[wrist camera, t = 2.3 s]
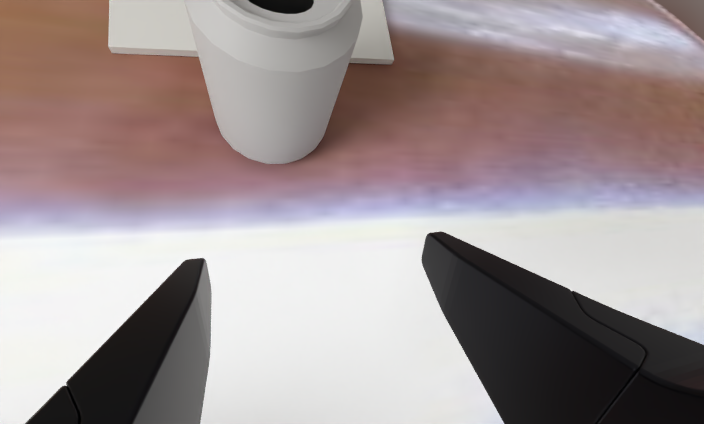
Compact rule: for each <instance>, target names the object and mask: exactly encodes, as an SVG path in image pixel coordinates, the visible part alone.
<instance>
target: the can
mask: <svg viewBox="0 0 704 424" xmlns="http://www.w3.org/2000/svg"><path fill="white" fill-rule="evenodd" d="M184 3H185V7H186V10H187V14H188V18H189V22H190V25H191V29H192V33H193V37H194V40H195V44H196V48H197V52H198V55H199V59H200V63H201V67H202V70H203V74H204V78H205V82H206V85H207V89H208V93H209V97H210V100H211V104H212V108H213V112H214V115H215V119H216V122H217V124H218V127H219V130H220V132H221V135H222V136H223V137H224V139H225V140H226V141H227V142H228V143H229V144H230V146H231V147H232V148H233V149H234V150H236V151H237V152H239V153H241V154H242V155H244V156H245V157H247V158H249V159H252V160H255V161H259V162H262V163H266V164H286V163H289V162H292V161H296V160H299V159H302V158H303V157H305V156H306V155H307V154H309V153H310V152H312V151H313V150H314V149H315V148H316V147H317V145H318V144H319V143H320V141H321V140H322V138H323V137H324V134H325V131H326V128H327V125H328V122H329V119H330V116H331V114H332V111H333V108H334V105H335V102H336V99H337V96H338V93H339V90H340V88H341V85H342V82H343V79H344V76H345V73H346V70H347V67H348V64H349V61H350V59H351V56H352V53H353V50H354V47H355V44H356V41H357V38H358V35H359V31H360V27H361V23H362V18H363V14H362V7H361V0H184Z"/></svg>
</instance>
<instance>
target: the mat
mask: <svg viewBox="0 0 704 424" xmlns="http://www.w3.org/2000/svg"><path fill="white" fill-rule="evenodd" d="M361 7H362V14H363V18H362V23H361V27H360V31H359V35H358V38H357V41H356V44H355V47H354V50H353V53H352V56H351V59H350V61H349V63H365V64H390V65H392V63H393V61H394V56H393V51H392V46H391V41H390V36H389V31H388V26H387V21H386V16H385V11H384V6H383V1H382V0H361ZM108 47H109V49H110V50H111V52H112V53H119V54H144V55H168V56H193V57H199V55H198V52H197V48H196V44H195V40H194V37H193V33H192V29H191V25H190V22H189V18H188V14H187V10H186V7H185V3H184V0H109V42H108Z"/></svg>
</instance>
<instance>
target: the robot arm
mask: <svg viewBox="0 0 704 424" xmlns="http://www.w3.org/2000/svg"><path fill="white" fill-rule="evenodd" d="M422 265H423V267H424V270H425V272H426V274H427V277H428V279H429V282H430V284H431V286H432V289H433V291H434V293H435V296H436V298H437V301H438V303H439V305H440V307H441V310H442V312H443V314H444V316H445V317H446V319H447V321H448V323H449V325H450V327H451V328H452V330H453V332H454V334H455V336H456V337H457V339H458V341H459V343H460V345H461V346H462V348H463V350H464V352H465V354H466V355H467V357H468V359H469V361H470V363H471V364H472V366H473V368H474V370H475V372H476V373H477V375H478V377H479V379H480V381H481V382H482V384H483V386H484V388H485V390H486V391H487V393H488V395H489V397H490V399H491V400H492V402H493V404H494V406H495V408H496V409H497V411H498V413H499V415H500V417H501V418H502V420H503V422H504V424H704V345H702V344H700V343H697V342H695V341H692V340H690V339H687V338H685V337H682V336H680V335H677V334H675V333H672V332H670V331H667V330H664V329H662V328H659V327H657V326H654V325H652V324H649V323H647V322H644V321H642V320H639V319H637V318H635V317H632V316H630V315H627V314H625V313H622V312H620V311H617V310H615V309H613V308H610V307H608V306H606V305H604V304H601V303H599V302H597V301H594V300H592V299H590V298H588V297H585V296H583V295H581V294H579V293H577V292H574V291H570V289H568V288H565V287H563V286H561V285H559V284H557V283H554V282H552V281H550V280H548V279H546V278H543V277H541V276H539V275H537V274H535V273H532V272H530V271H528V270H526V269H524V268H521V267H519V266H517V265H515V264H513V263H510V262H508V261H506V260H504V259H501V258H499V257H497V256H495V255H493V254H490V253H488V252H486V251H484V250H482V249H479V248H477V247H475V246H473V245H471V244H468V243H466V242H464V241H462V240H460V239H457V238H455V237H453V236H451V235H449V234H446V233H444V232H434V233H429V234H428V235H427V236H426V239H425V244H424V249H423V254H422ZM210 344H211V284H210V279H209V274H208V268H207V263H206V260H205V259H203V258H199V259H189V260H185V261H184V262H183V263H182V264H181V265H180V266H179V267H178V268H177V269H176V270H175V271H174V272H173V273H172V274H171V275H170V276H169V277H168V278H167V279H166V280H165V281H164V282H163V283H162V284H161V285H160V287H159V288H158V289H157V290H156V291H155V292H154V293H153V294H152V295H151V296H150V297H149V298H148V299H147V300H146V301H145V302H144V303H143V304H142V305H141V306H140V307H139V308H138V309H137V310H136V311H135V312H134V313H133V314H132V315H131V316H130V317H129V318H128V319H127V320H126V321H125V322H124V323H123V324H122V326H121V327H120V328H119V329H118V330H117V331H116V332H115V333H114V334H113V335H112V336H111V337H110V338H109V339H108V340H107V341H106V342H105V343H104V344H103V345H102V346H101V347H100V348H99V349H98V350H97V351H96V352H95V353H94V354H93V355H92V356H91V357H90V358H89V359H88V360H87V361H86V362H85V363H84V364H83V366H82V367H81V368H80V369H79V370H78V371H77V372H76V373H75V374H74V375H73V376H72V377H71V378H70V379H69V380H68V381H67V382H66V385H67V386H62V387H61V388H60V389H59V390H58V391H57V392H56V393H55V394H54V395H53V396H52V397H51V398H50V399H49V400H48V401H47V402H46V403H45V404H44V405H43V406H42V407H41V408H40V409H39V410H38V411H37V412H36V413H35V414H34V415H33V416H32V417H31V418H30V419H29V420H28V421H27V422H26V423H25V424H200V420H201V413H202V407H203V400H204V393H205V387H206V380H207V373H208V367H209V358H210Z"/></svg>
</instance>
